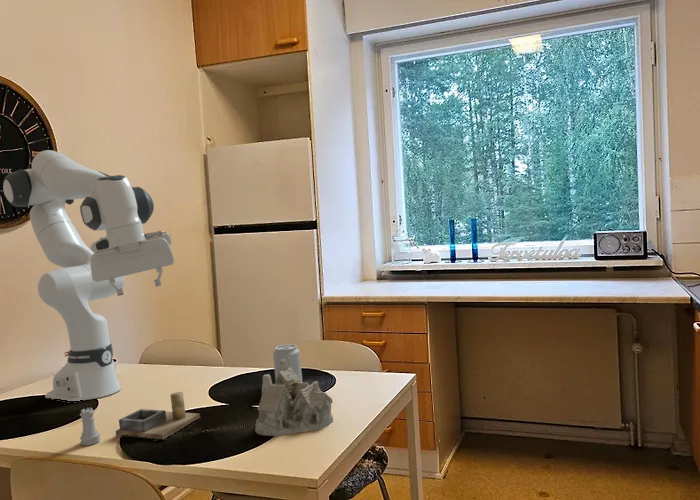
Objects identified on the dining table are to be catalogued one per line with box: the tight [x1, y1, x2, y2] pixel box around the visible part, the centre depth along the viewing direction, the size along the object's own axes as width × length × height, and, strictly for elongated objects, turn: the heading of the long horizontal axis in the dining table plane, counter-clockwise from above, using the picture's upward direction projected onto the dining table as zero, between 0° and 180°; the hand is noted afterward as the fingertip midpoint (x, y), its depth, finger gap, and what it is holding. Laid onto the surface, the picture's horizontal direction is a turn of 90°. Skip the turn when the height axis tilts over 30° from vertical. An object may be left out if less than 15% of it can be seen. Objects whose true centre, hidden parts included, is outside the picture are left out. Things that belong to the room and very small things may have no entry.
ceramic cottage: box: [254, 359, 334, 437], centre depth 145 cm, size 16×16×15 cm
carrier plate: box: [115, 391, 201, 440], centre depth 151 cm, size 14×14×8 cm
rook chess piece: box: [79, 407, 102, 447], centre depth 146 cm, size 4×4×8 cm
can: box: [272, 343, 303, 383], centre depth 176 cm, size 8×8×12 cm
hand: (139, 290), depth 159 cm, fingers open, 8 cm apart
